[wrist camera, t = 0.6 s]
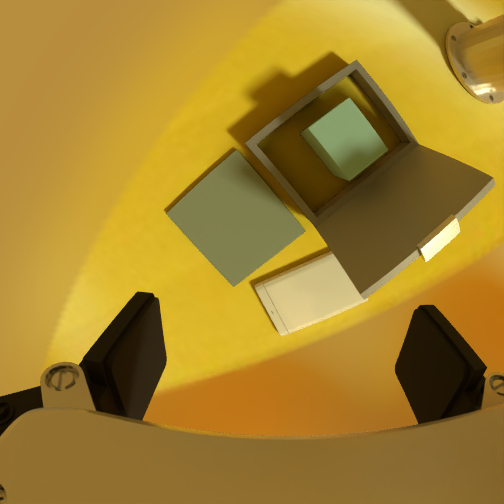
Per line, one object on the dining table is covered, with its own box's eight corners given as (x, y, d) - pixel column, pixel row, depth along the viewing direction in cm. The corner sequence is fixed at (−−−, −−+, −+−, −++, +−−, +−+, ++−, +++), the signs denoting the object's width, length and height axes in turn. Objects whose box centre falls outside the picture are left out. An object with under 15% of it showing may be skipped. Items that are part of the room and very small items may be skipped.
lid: (497, 176, 17) (500, 191, 18) (417, 141, 27) (423, 153, 28) (360, 296, 21) (369, 307, 21) (313, 225, 31) (321, 235, 32)
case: (350, 65, 27) (356, 59, 25) (409, 144, 30) (419, 144, 28) (246, 144, 31) (244, 143, 29) (312, 222, 34) (315, 227, 31)
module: (333, 108, 29) (349, 97, 23) (365, 149, 31) (388, 149, 24) (299, 133, 31) (308, 128, 24) (332, 175, 32) (349, 181, 25)
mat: (236, 149, 31) (236, 149, 31) (305, 230, 34) (305, 231, 34) (167, 212, 34) (166, 213, 34) (234, 285, 37) (233, 287, 36)
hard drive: (349, 245, 33) (253, 288, 36) (369, 301, 36) (281, 338, 38) (346, 241, 35) (254, 282, 37) (365, 295, 37) (280, 331, 39)
